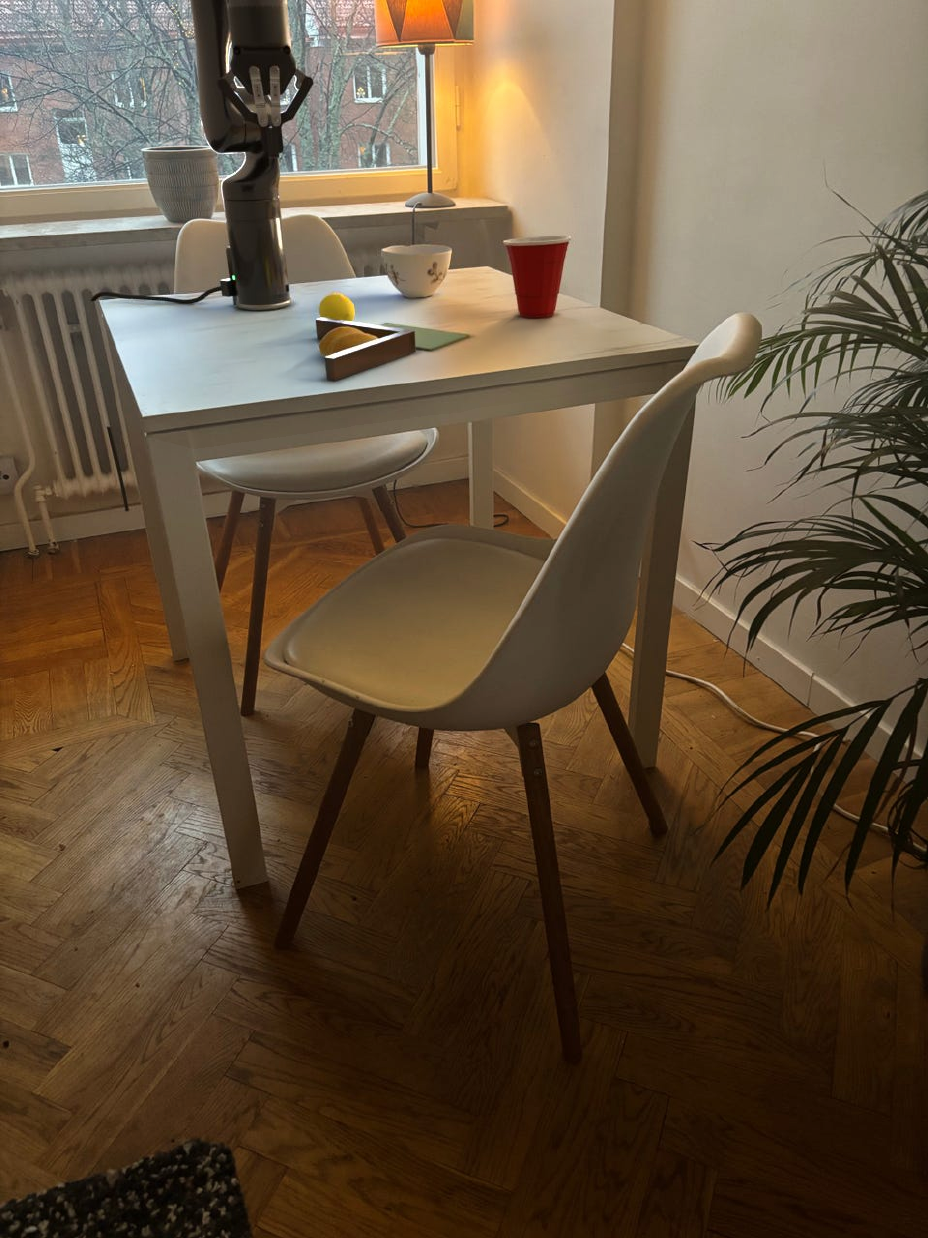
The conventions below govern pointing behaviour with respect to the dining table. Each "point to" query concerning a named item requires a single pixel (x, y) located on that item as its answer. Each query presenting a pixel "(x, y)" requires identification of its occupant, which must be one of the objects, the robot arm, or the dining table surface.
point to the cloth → (430, 336)
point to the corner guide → (365, 348)
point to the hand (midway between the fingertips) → (273, 157)
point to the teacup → (416, 268)
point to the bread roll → (343, 340)
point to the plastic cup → (537, 272)
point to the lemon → (337, 307)
